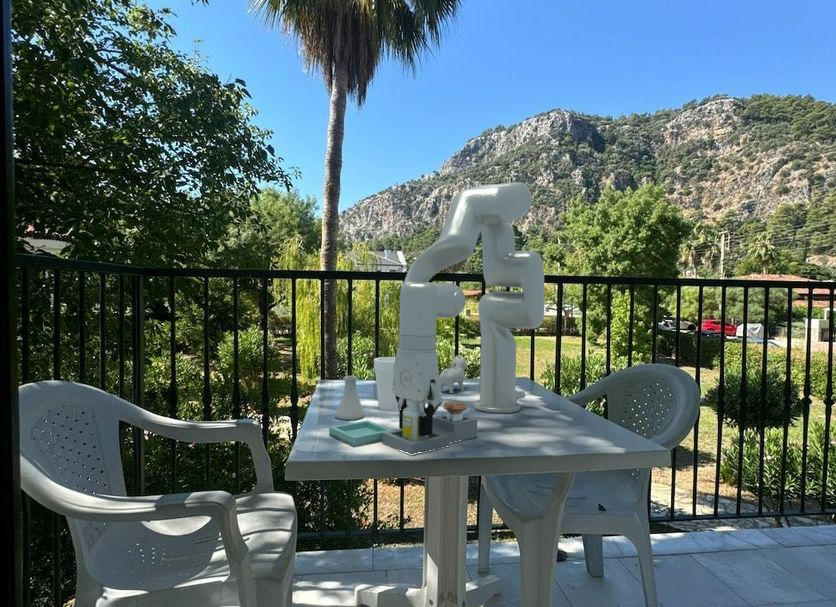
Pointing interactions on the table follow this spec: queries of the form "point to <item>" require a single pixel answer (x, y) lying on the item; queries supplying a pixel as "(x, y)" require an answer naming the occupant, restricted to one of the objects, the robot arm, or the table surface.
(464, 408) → the plunger
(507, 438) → the table surface
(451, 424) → the housing
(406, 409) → the supplement bottle
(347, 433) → the tray
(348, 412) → the flask
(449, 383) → the dog figurine
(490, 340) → the robot arm
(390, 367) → the foam cup
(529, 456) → the table surface
